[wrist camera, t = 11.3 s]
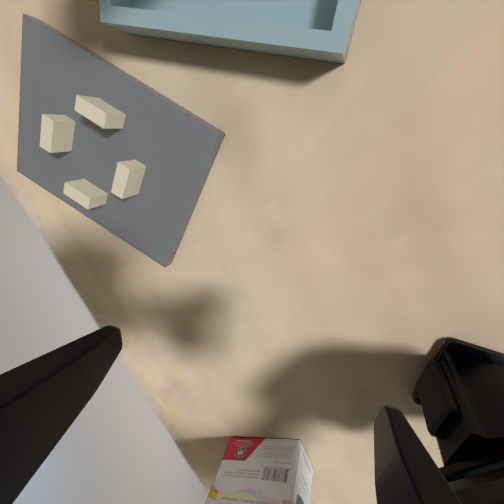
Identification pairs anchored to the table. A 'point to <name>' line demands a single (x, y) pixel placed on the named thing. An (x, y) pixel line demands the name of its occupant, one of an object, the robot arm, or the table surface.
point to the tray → (243, 24)
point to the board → (110, 142)
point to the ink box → (263, 473)
